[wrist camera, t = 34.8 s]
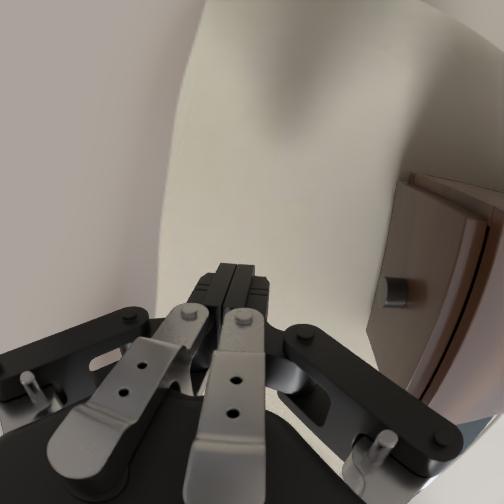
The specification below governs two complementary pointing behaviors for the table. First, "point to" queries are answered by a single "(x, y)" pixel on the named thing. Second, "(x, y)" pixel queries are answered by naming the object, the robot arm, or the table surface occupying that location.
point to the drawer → (423, 284)
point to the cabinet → (473, 318)
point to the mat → (472, 430)
